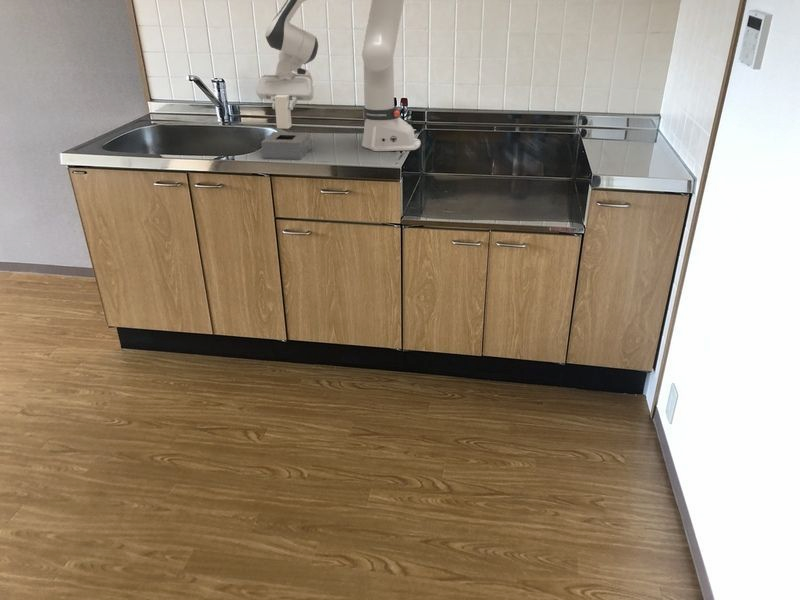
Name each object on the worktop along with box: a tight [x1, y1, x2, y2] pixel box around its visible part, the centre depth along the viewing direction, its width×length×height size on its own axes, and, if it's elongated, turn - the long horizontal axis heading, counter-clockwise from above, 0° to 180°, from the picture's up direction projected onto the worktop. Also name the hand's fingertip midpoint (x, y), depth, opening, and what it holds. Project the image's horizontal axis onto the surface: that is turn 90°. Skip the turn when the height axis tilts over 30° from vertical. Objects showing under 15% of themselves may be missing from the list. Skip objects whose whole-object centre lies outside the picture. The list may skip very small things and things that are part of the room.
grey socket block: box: [260, 131, 312, 161], centre depth 245 cm, size 14×14×6 cm
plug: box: [274, 95, 293, 130], centre depth 239 cm, size 4×4×11 cm
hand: (282, 108), depth 238 cm, fingers closed on plug, 4 cm apart
